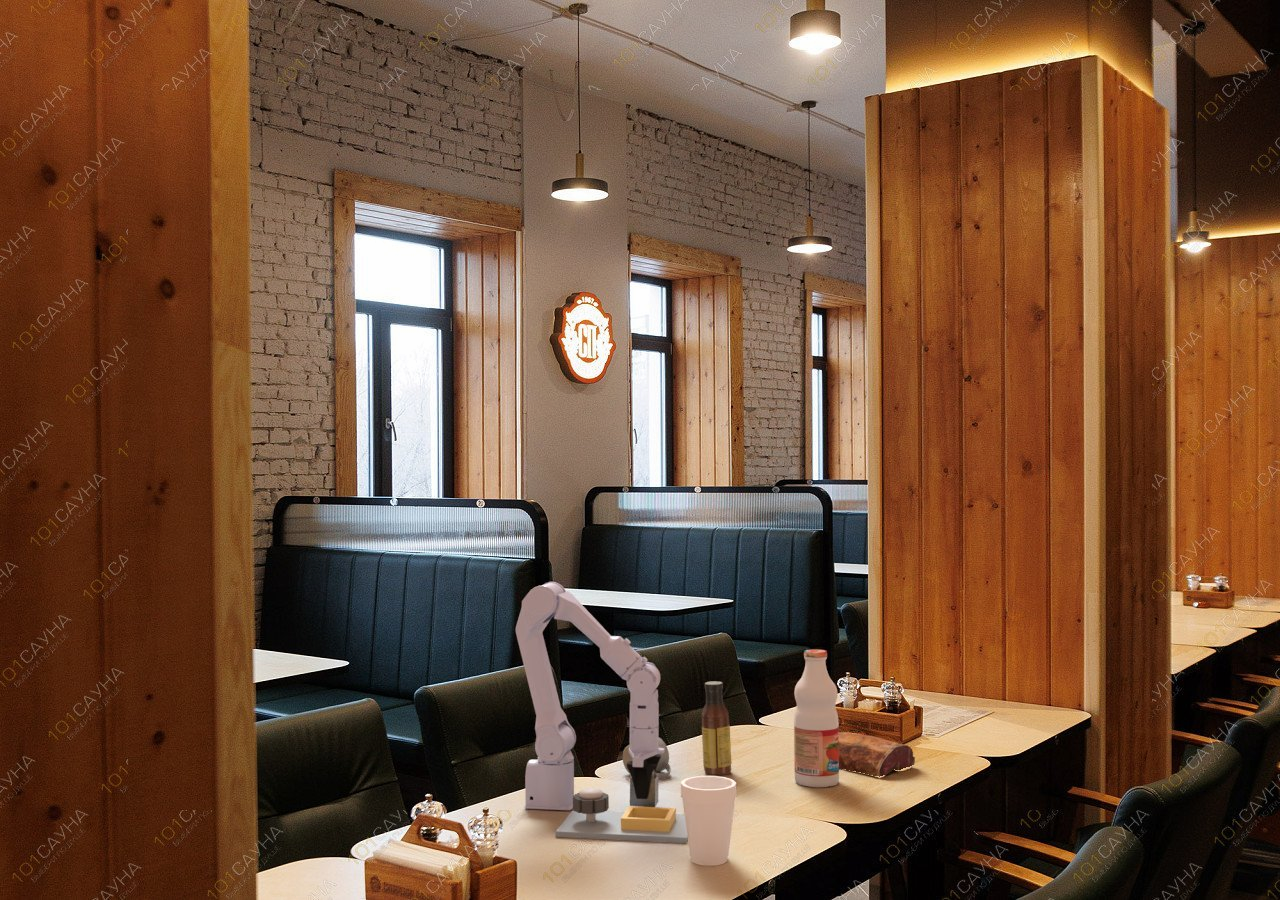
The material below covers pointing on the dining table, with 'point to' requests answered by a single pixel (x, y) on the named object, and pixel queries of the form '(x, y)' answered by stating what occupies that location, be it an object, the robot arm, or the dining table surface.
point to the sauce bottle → (715, 731)
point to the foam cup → (708, 817)
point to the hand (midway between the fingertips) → (644, 795)
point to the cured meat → (872, 754)
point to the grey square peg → (652, 795)
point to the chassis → (627, 825)
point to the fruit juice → (816, 724)
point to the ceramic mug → (661, 764)
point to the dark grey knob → (590, 801)
